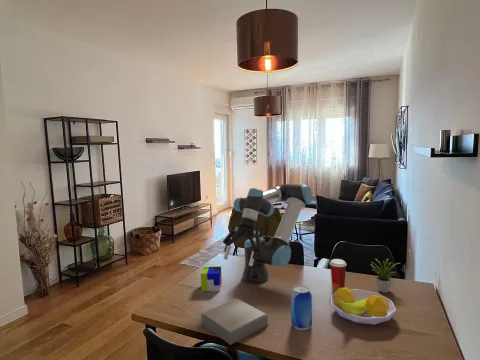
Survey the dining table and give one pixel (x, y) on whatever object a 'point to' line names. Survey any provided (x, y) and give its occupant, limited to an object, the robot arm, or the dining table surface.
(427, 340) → the dining table surface
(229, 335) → the plinth
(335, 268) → the coffee cup
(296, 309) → the beer can
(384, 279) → the house plant
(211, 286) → the puzzle toy
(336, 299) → the fruit bowl
